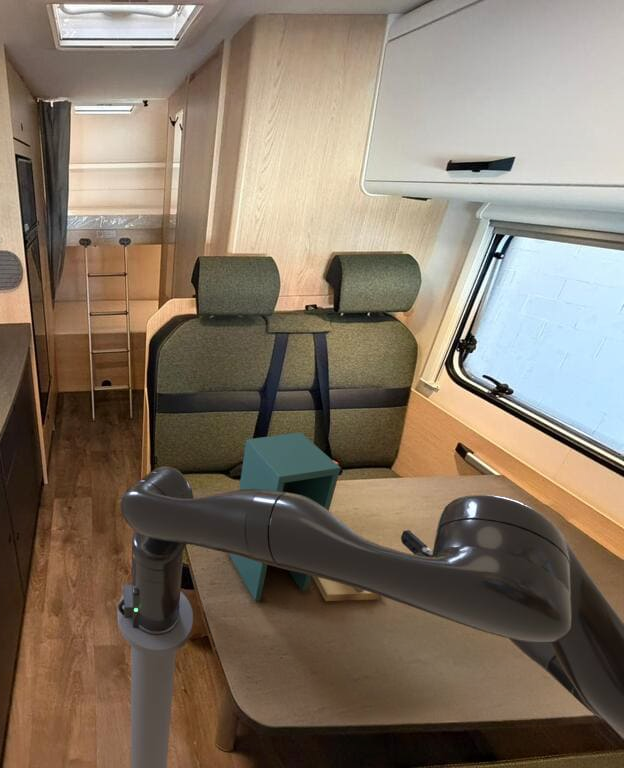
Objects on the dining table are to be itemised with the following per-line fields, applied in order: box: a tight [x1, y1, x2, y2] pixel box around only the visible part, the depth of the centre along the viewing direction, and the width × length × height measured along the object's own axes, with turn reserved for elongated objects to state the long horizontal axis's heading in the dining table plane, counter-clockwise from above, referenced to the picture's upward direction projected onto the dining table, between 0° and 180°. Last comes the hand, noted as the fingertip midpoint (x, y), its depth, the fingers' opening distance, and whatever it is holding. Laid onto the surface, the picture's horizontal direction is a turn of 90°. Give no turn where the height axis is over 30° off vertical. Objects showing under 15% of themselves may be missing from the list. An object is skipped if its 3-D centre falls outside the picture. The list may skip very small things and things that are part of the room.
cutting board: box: [311, 575, 381, 602], centre depth 94 cm, size 11×19×2 cm, turn 1°
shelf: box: [229, 432, 341, 602], centre depth 86 cm, size 12×12×32 cm
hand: (426, 530), depth 69 cm, fingers open, 8 cm apart
